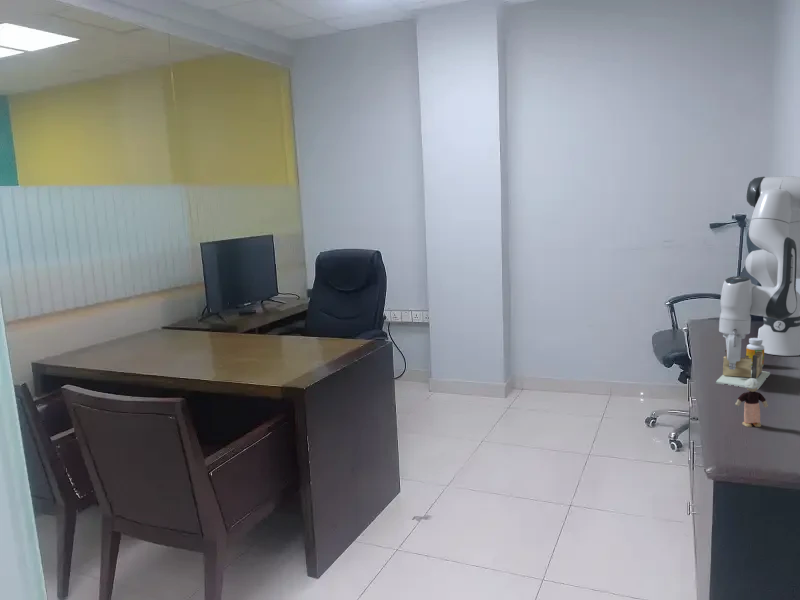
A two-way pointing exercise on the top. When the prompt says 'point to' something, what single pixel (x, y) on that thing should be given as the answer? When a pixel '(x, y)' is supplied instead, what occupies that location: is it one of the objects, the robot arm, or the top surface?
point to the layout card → (741, 379)
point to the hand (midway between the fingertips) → (732, 368)
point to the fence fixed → (757, 364)
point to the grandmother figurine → (751, 403)
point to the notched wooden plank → (738, 367)
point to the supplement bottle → (755, 348)
